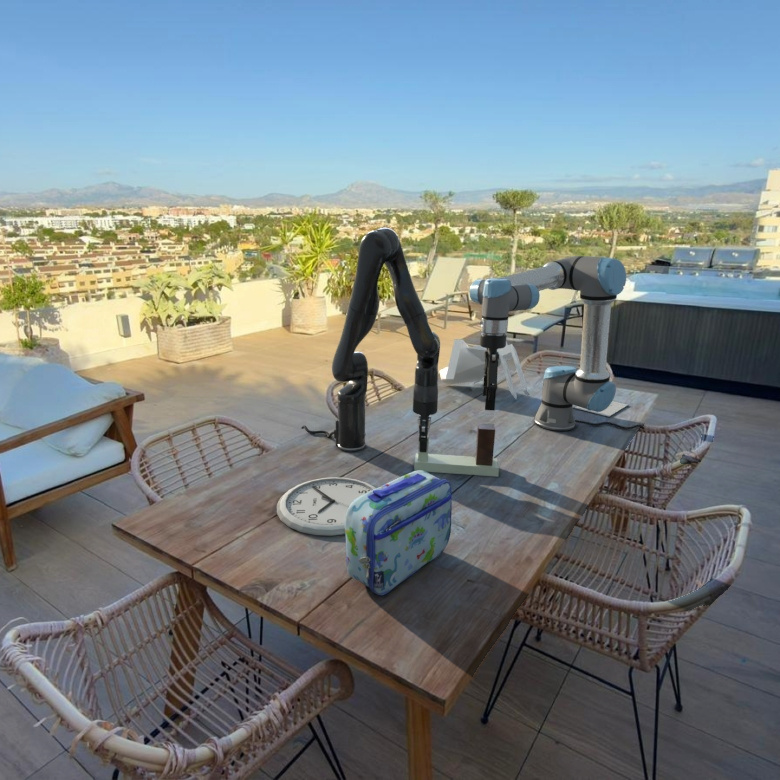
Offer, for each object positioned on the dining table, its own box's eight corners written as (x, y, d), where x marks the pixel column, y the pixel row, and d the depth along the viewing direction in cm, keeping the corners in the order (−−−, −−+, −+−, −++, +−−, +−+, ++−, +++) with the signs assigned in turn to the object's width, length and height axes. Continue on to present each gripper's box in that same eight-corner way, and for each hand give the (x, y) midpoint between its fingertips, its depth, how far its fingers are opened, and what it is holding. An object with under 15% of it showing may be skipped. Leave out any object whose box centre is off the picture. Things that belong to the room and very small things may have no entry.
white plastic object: (461, 429, 252) (437, 405, 227) (444, 352, 274) (420, 323, 250) (535, 404, 240) (518, 377, 215) (510, 326, 262) (492, 293, 237)
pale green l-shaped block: (496, 466, 168) (499, 435, 164) (498, 476, 161) (501, 443, 158) (415, 461, 170) (416, 430, 167) (414, 470, 164) (415, 438, 161)
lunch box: (373, 608, 104) (374, 515, 98) (339, 582, 112) (337, 495, 105) (455, 554, 122) (460, 473, 116) (421, 535, 129) (424, 458, 123)
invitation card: (608, 416, 214) (573, 407, 224) (608, 416, 214) (573, 408, 224) (628, 404, 229) (594, 396, 238) (628, 405, 229) (594, 397, 238)
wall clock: (392, 527, 129) (268, 531, 127) (391, 533, 130) (269, 537, 127) (383, 473, 158) (282, 475, 155) (383, 478, 158) (282, 480, 156)
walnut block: (491, 459, 166) (494, 423, 162) (492, 466, 161) (495, 429, 158) (475, 458, 167) (477, 422, 163) (475, 464, 162) (478, 428, 158)
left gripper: (415, 389, 167) (413, 439, 172) (411, 404, 154) (409, 457, 159) (438, 391, 166) (436, 440, 171) (437, 405, 153) (434, 459, 158)
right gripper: (478, 325, 164) (474, 389, 170) (482, 341, 140) (477, 415, 147) (503, 326, 163) (497, 390, 169) (511, 342, 139) (504, 417, 146)
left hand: (423, 448), depth 165 cm, fingers closed on pale green l-shaped block, 4 cm apart
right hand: (488, 402), depth 158 cm, fingers open, 13 cm apart
